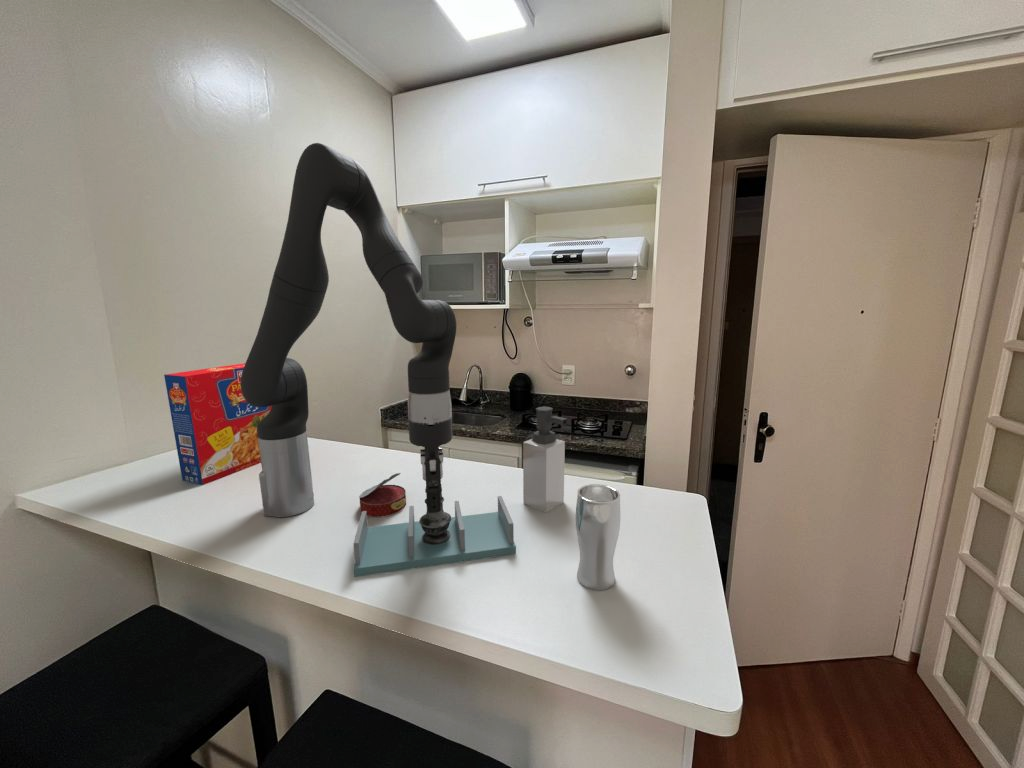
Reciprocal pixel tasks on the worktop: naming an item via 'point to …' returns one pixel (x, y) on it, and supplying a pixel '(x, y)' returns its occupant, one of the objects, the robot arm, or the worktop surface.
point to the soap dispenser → (544, 464)
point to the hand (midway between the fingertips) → (433, 500)
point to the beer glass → (597, 534)
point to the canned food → (383, 499)
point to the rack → (408, 551)
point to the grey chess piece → (435, 523)
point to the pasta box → (213, 423)
